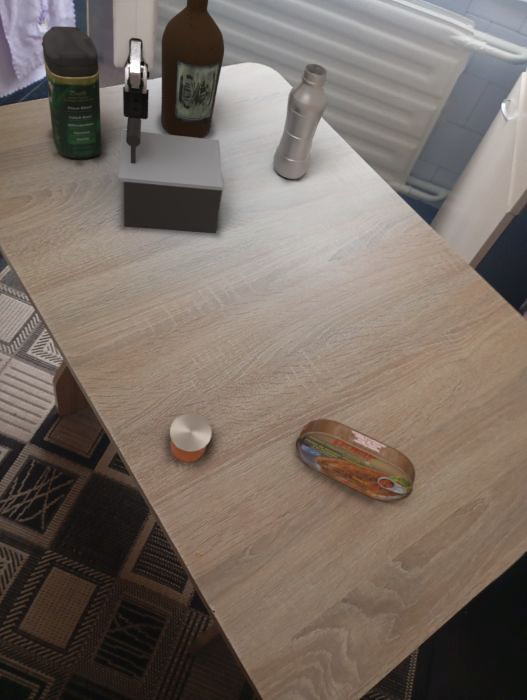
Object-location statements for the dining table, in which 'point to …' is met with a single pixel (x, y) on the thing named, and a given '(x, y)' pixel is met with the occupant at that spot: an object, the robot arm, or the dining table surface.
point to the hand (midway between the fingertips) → (136, 96)
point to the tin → (356, 460)
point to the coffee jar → (73, 91)
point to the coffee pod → (189, 436)
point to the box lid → (168, 159)
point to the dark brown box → (171, 207)
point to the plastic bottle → (301, 123)
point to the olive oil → (190, 70)
